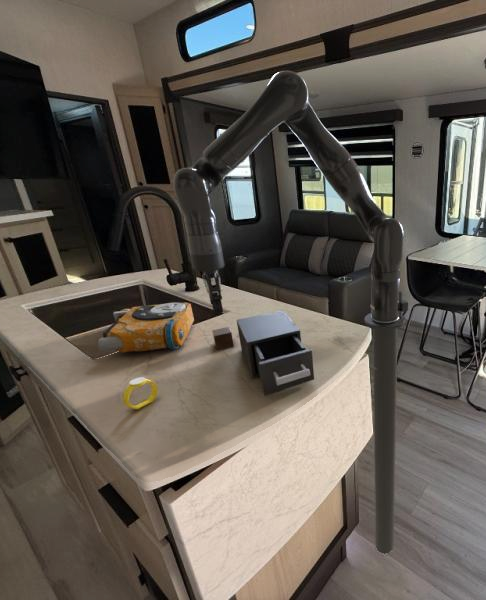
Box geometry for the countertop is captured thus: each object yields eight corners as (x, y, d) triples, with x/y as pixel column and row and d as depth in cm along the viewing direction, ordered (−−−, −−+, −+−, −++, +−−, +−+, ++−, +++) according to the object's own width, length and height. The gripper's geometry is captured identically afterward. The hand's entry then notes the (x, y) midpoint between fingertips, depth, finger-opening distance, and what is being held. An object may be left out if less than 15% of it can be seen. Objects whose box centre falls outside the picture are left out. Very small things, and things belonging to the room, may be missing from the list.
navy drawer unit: (303, 363, 83) (300, 330, 80) (252, 377, 77) (247, 342, 74) (286, 339, 96) (282, 310, 92) (241, 350, 89) (236, 319, 86)
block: (231, 340, 95) (229, 326, 94) (233, 346, 92) (231, 332, 90) (215, 344, 93) (212, 330, 92) (216, 350, 90) (213, 336, 88)
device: (71, 338, 78) (120, 299, 105) (82, 367, 81) (127, 322, 108) (176, 326, 85) (197, 292, 112) (183, 353, 88) (202, 313, 115)
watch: (133, 415, 65) (125, 390, 62) (124, 411, 66) (116, 387, 63) (162, 398, 70) (155, 374, 68) (154, 395, 71) (147, 372, 69)
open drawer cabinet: (321, 389, 71) (319, 358, 69) (269, 406, 66) (264, 374, 63) (295, 353, 86) (292, 327, 84) (251, 365, 81) (246, 337, 78)
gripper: (225, 254, 79) (235, 314, 85) (218, 245, 90) (227, 298, 96) (190, 257, 75) (203, 320, 81) (188, 247, 87) (199, 303, 92)
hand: (216, 308), depth 88 cm, fingers open, 8 cm apart
